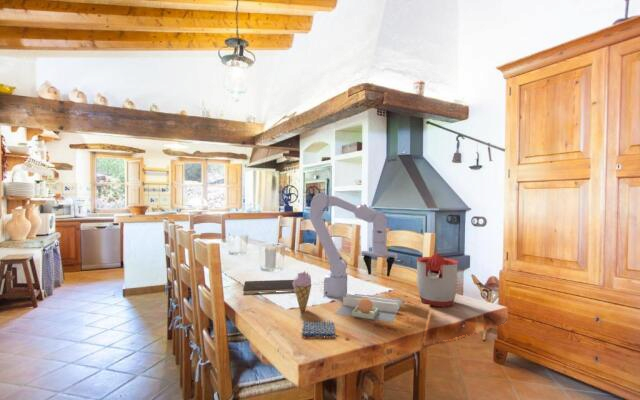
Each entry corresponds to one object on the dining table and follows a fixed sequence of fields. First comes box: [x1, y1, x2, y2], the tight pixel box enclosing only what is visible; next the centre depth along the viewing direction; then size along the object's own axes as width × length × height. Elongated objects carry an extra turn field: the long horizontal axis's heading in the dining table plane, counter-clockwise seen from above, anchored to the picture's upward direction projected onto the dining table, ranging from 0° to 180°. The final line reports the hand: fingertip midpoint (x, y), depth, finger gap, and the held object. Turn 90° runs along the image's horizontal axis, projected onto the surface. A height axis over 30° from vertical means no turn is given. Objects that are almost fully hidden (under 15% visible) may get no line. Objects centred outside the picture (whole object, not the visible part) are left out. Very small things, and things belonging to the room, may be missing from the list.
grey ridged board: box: [334, 293, 405, 323], centre depth 120 cm, size 20×26×4 cm
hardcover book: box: [242, 279, 295, 295], centre depth 147 cm, size 16×23×2 cm
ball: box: [358, 298, 373, 313], centre depth 112 cm, size 5×5×5 cm
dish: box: [351, 306, 378, 320], centre depth 112 cm, size 7×7×1 cm
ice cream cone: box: [292, 270, 312, 314], centre depth 116 cm, size 7×6×15 cm
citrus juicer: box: [416, 252, 459, 308], centre depth 128 cm, size 16×17×20 cm
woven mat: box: [300, 320, 337, 339], centre depth 99 cm, size 10×11×2 cm
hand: (378, 274), depth 132 cm, fingers open, 7 cm apart
